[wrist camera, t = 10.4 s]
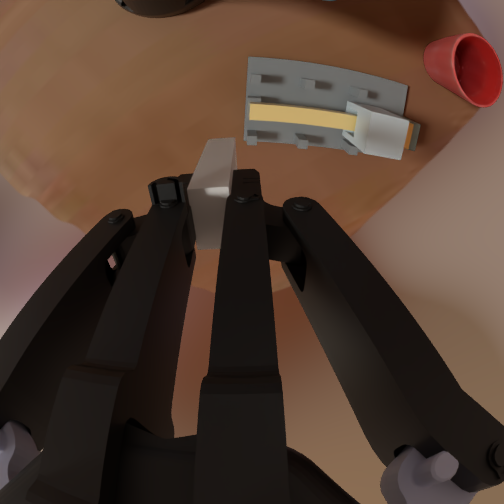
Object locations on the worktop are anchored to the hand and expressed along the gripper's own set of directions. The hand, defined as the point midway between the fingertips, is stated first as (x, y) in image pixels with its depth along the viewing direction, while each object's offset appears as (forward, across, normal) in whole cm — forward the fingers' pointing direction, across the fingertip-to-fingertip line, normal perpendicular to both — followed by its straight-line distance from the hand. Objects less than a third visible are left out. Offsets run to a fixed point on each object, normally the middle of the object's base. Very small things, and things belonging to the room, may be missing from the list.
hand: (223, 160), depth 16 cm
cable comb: (+24, +13, -1) cm, 27 cm away
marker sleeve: (+22, +17, -2) cm, 27 cm away
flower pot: (+25, +32, +10) cm, 41 cm away
